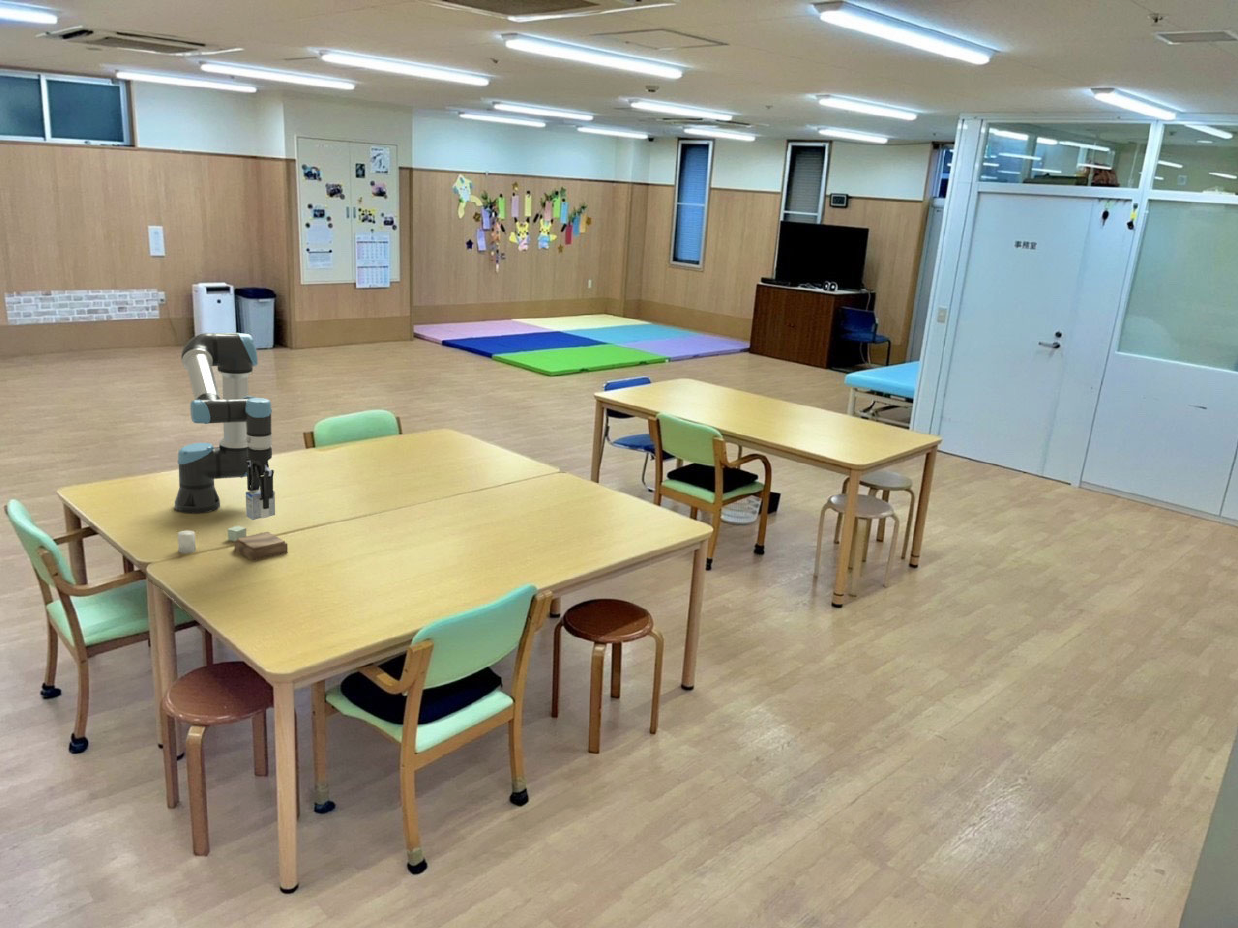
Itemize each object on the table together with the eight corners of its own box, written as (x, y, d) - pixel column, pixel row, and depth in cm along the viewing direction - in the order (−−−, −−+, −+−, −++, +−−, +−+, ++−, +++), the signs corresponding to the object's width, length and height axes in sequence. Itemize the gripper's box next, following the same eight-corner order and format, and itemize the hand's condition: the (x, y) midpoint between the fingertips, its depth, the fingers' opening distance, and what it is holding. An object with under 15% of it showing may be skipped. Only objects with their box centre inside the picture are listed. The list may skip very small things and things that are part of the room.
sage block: (228, 539, 306) (227, 528, 305) (237, 536, 310) (237, 525, 309) (236, 542, 305) (236, 531, 304) (246, 539, 308) (245, 528, 307)
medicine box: (268, 512, 301) (267, 487, 298) (275, 515, 298) (275, 490, 296) (245, 516, 295) (245, 491, 292) (253, 520, 292) (252, 495, 290)
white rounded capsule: (175, 549, 294) (175, 532, 293) (191, 546, 298) (190, 529, 296) (182, 554, 291) (182, 537, 290) (198, 551, 295) (197, 533, 293)
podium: (234, 549, 299) (234, 538, 298) (268, 541, 308) (268, 530, 307) (253, 560, 292) (253, 549, 290) (287, 552, 300) (287, 541, 299)
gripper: (234, 442, 292) (236, 510, 299) (262, 454, 282) (263, 525, 288) (256, 439, 298) (257, 505, 304) (284, 451, 287) (285, 520, 294)
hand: (260, 515), depth 296 cm, fingers closed on medicine box, 4 cm apart
